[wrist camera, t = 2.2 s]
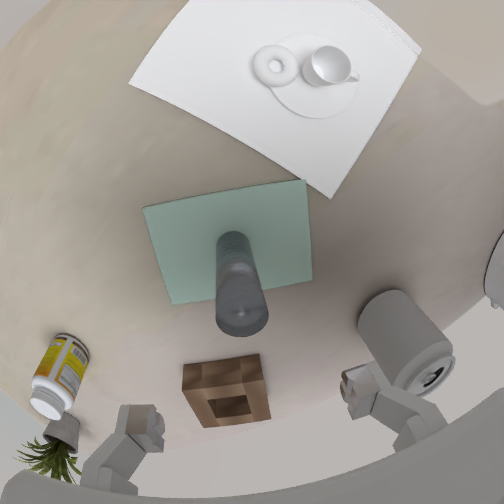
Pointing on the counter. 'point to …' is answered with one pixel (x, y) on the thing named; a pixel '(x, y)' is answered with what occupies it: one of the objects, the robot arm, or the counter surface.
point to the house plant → (57, 448)
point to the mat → (232, 219)
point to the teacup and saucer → (284, 77)
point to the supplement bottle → (59, 376)
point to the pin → (238, 287)
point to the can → (406, 343)
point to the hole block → (226, 391)
